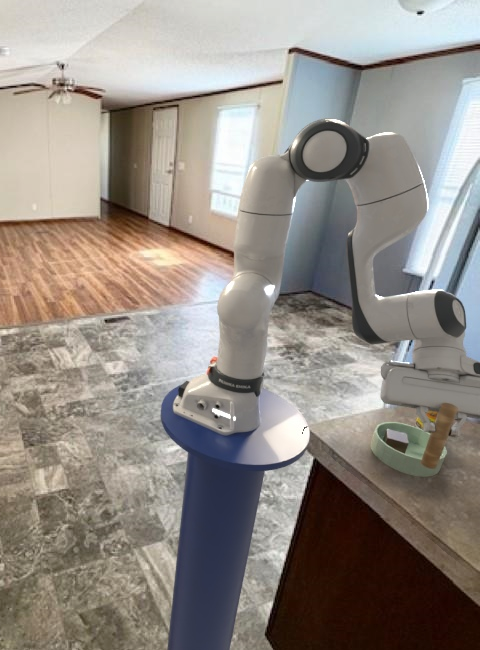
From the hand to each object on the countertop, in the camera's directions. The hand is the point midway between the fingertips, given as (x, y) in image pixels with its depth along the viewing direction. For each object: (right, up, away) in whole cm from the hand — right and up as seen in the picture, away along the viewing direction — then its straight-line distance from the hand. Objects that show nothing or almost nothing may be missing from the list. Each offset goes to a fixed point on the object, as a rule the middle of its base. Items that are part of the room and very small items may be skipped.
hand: (441, 434), depth 83 cm
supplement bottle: (+16, -5, +23) cm, 29 cm away
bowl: (+3, -9, +14) cm, 17 cm away
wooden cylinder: (0, -7, +4) cm, 8 cm away
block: (+1, -8, +15) cm, 17 cm away
